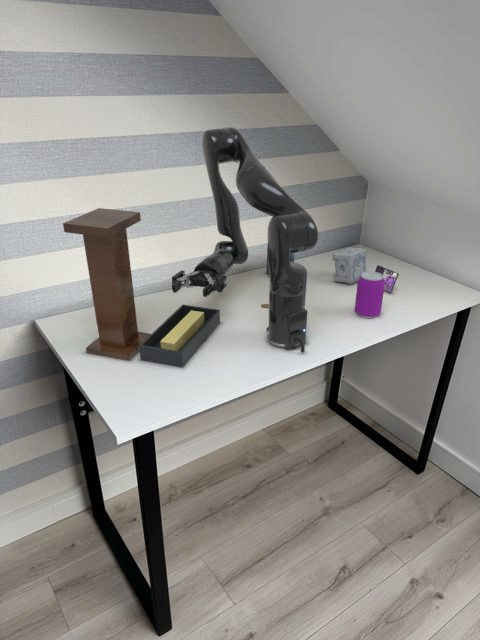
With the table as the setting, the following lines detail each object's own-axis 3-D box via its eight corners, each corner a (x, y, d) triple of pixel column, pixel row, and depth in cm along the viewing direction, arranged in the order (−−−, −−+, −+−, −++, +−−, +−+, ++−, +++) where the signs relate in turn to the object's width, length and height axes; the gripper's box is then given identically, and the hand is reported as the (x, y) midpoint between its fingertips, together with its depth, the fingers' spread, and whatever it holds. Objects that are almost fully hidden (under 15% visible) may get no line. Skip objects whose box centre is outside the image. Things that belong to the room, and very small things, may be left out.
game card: (376, 264, 168) (396, 273, 162) (385, 266, 171) (406, 275, 165) (368, 284, 170) (389, 293, 164) (378, 285, 173) (398, 294, 167)
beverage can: (377, 321, 146) (382, 282, 141) (351, 316, 149) (355, 277, 143) (383, 311, 153) (388, 273, 147) (357, 306, 155) (362, 268, 149)
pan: (183, 317, 146) (182, 304, 144) (220, 323, 144) (219, 309, 142) (140, 360, 125) (138, 345, 123) (182, 367, 123) (181, 352, 121)
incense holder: (345, 273, 180) (348, 244, 174) (366, 279, 175) (369, 249, 170) (329, 280, 173) (332, 250, 168) (350, 287, 168) (354, 256, 163)
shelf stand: (114, 330, 139) (96, 207, 122) (154, 337, 136) (142, 212, 120) (84, 354, 127) (60, 223, 111) (127, 362, 124) (109, 228, 108)
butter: (191, 320, 143) (191, 310, 142) (204, 322, 142) (204, 312, 141) (161, 352, 128) (160, 341, 126) (175, 355, 127) (174, 343, 125)
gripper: (188, 254, 147) (162, 274, 133) (235, 260, 143) (214, 281, 130) (189, 279, 150) (165, 301, 137) (235, 285, 147) (215, 308, 133)
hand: (189, 291), depth 133 cm, fingers open, 8 cm apart
